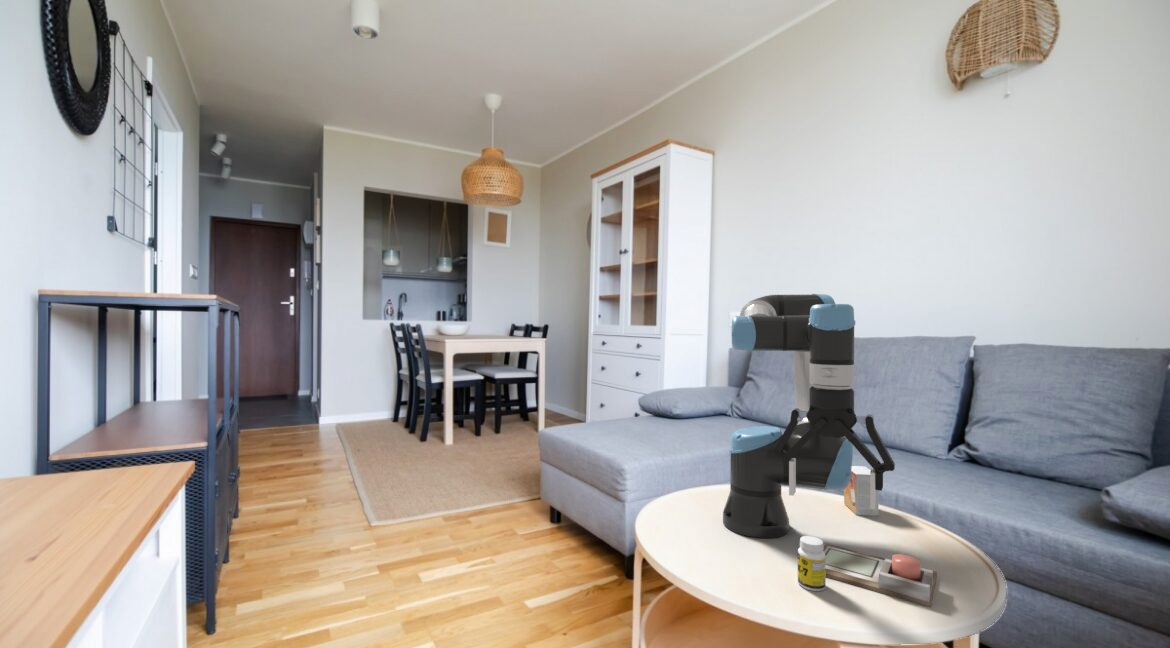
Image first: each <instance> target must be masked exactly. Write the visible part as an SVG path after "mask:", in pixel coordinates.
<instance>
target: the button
mask: <svg viewBox="0 0 1170 648" xmlns="http://www.w3.org/2000/svg"><path fill="white" fill-rule="evenodd" d="M891 560H892V575H895V576H899V577H903V578H906V579H910V580H914V581H918V582H919V581H920V569H921V568H922V567H921V565H922V563H921V561H920V560H919V559H918V558H916V557H913V556H912V555H907V554H901V553H896V554H892V556H891Z"/></svg>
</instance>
